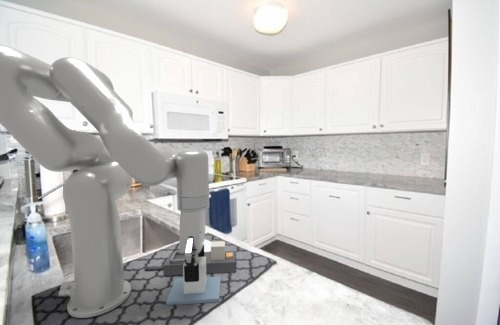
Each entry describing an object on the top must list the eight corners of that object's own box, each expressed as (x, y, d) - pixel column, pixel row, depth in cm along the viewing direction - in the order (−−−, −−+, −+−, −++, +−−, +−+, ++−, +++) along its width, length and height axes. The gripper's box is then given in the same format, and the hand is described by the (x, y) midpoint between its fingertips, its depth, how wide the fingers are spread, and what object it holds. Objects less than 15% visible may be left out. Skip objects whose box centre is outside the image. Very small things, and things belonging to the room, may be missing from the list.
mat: (166, 305, 52) (166, 301, 52) (175, 281, 61) (175, 278, 61) (219, 301, 53) (219, 298, 53) (220, 279, 62) (220, 276, 62)
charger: (183, 293, 54) (182, 260, 54) (186, 283, 58) (186, 253, 58) (205, 292, 55) (204, 259, 54) (206, 282, 59) (205, 252, 58)
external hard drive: (203, 259, 74) (182, 247, 82) (222, 250, 80) (201, 240, 88) (203, 254, 74) (182, 243, 82) (222, 245, 80) (201, 236, 88)
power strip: (139, 277, 63) (138, 252, 62) (148, 263, 70) (147, 241, 69) (235, 272, 65) (235, 248, 64) (235, 259, 72) (234, 238, 71)
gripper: (185, 194, 63) (186, 253, 65) (167, 212, 46) (170, 292, 47) (212, 193, 64) (213, 252, 65) (205, 211, 47) (206, 290, 48)
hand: (195, 269), depth 56 cm, fingers open, 9 cm apart
